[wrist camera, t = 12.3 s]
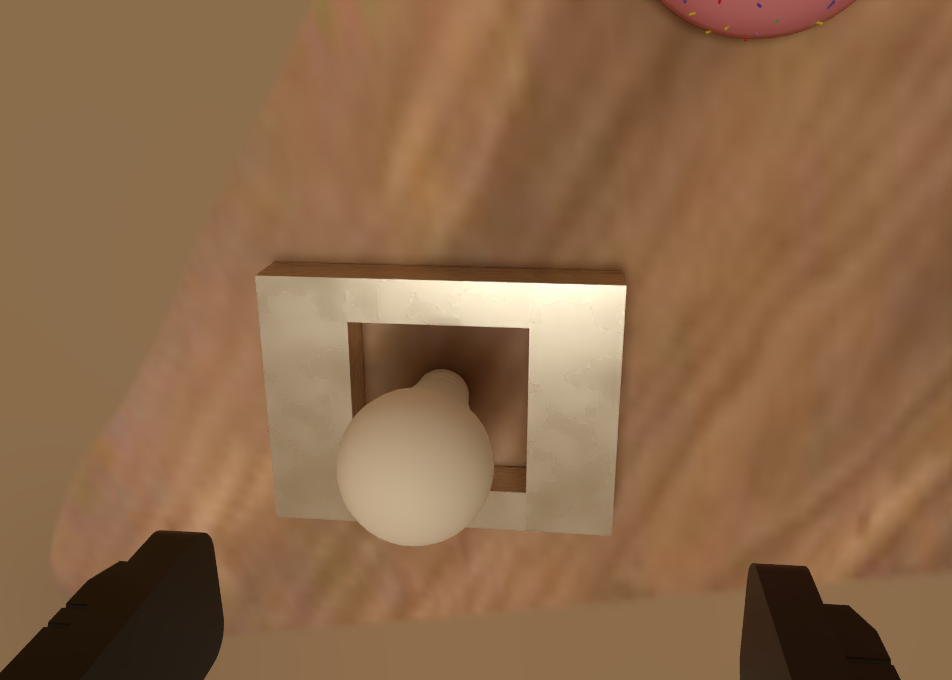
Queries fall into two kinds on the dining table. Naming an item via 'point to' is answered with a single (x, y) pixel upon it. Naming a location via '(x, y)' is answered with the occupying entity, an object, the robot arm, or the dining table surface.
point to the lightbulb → (416, 462)
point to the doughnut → (756, 15)
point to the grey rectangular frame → (457, 304)
